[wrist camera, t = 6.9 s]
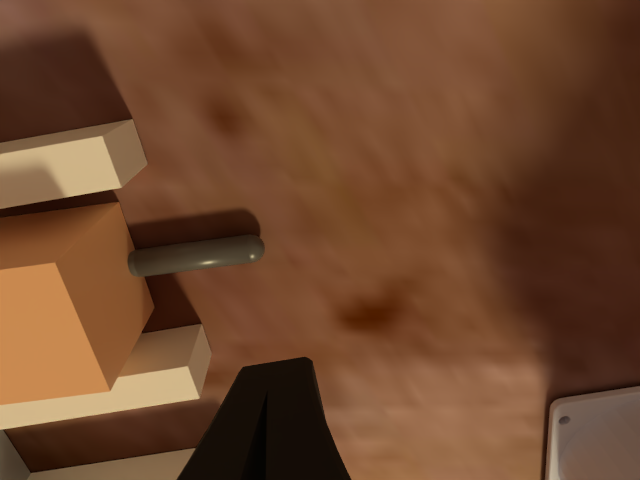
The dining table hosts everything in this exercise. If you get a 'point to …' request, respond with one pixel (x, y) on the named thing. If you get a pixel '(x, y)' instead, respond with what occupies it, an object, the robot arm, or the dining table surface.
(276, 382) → the robot arm
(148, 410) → the dining table surface
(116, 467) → the cord comb
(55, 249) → the tan handled block
